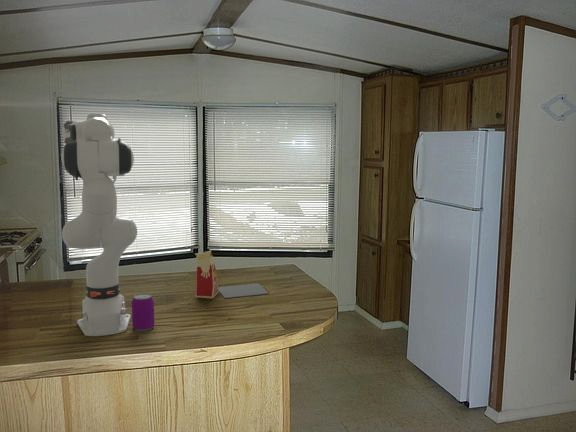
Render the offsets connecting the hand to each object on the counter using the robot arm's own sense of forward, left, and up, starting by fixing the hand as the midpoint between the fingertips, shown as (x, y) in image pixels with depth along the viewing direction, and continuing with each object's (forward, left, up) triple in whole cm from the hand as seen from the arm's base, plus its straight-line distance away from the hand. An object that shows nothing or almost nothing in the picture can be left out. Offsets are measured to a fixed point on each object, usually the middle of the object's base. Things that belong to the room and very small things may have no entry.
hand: (100, 187), depth 217 cm
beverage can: (-42, -12, -47) cm, 64 cm away
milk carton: (-11, -41, -47) cm, 64 cm away
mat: (-11, -58, -47) cm, 75 cm away
